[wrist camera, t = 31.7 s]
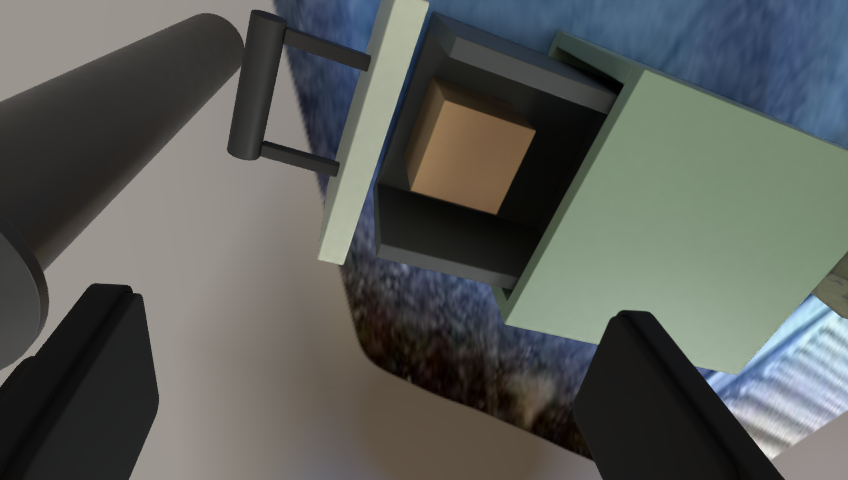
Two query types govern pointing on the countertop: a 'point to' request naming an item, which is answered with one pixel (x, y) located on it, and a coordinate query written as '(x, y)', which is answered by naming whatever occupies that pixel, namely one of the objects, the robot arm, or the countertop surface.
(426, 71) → the pull-out drawer
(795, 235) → the sage drawer box
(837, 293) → the thermos
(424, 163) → the block
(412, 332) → the countertop surface
